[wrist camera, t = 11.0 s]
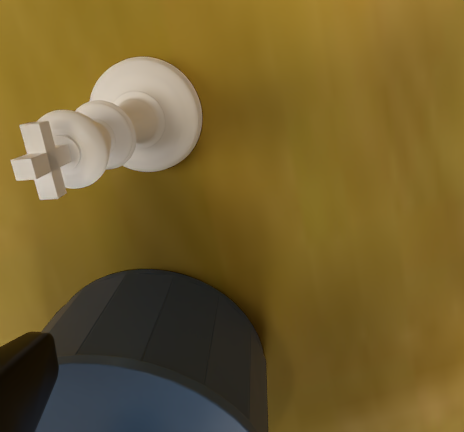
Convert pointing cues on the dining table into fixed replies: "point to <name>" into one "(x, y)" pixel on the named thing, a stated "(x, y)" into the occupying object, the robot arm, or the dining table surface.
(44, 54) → the dining table surface
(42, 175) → the chess piece
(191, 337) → the pot
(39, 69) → the dining table surface
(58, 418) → the pot lid
